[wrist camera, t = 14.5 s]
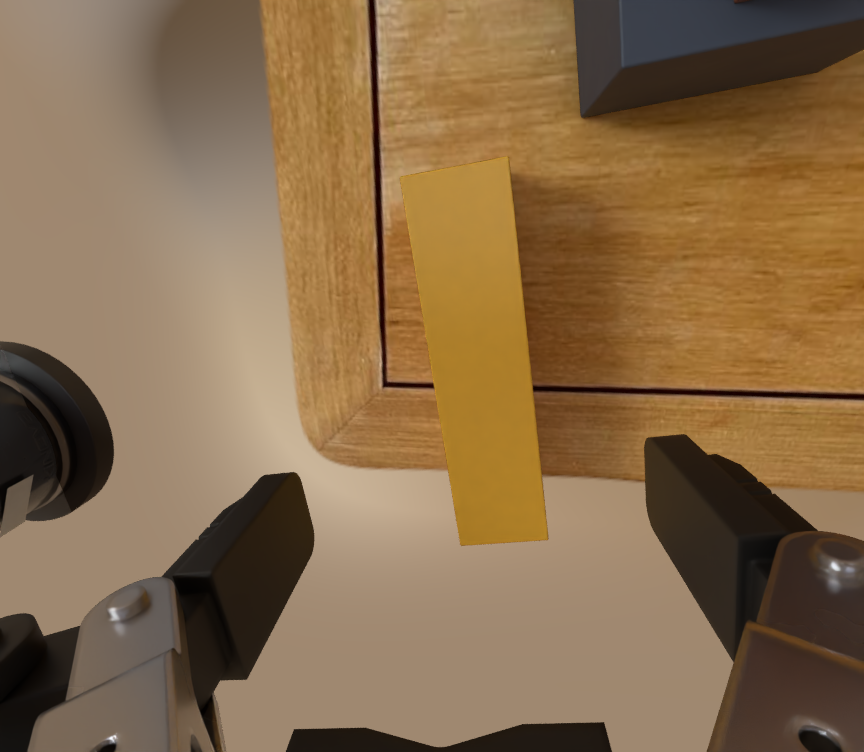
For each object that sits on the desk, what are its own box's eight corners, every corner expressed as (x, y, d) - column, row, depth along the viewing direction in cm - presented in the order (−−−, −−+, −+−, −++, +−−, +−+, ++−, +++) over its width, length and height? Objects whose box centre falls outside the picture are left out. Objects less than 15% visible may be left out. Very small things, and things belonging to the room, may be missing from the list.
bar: (463, 499, 25) (460, 546, 21) (414, 187, 21) (399, 176, 17) (538, 493, 24) (548, 540, 21) (504, 170, 20) (508, 155, 16)
